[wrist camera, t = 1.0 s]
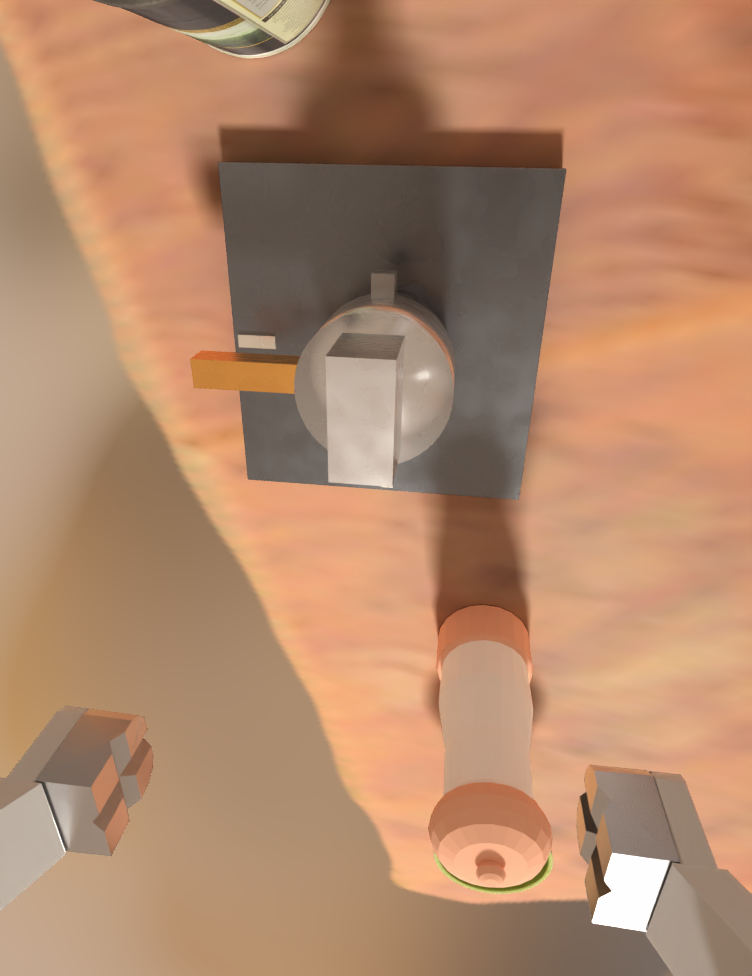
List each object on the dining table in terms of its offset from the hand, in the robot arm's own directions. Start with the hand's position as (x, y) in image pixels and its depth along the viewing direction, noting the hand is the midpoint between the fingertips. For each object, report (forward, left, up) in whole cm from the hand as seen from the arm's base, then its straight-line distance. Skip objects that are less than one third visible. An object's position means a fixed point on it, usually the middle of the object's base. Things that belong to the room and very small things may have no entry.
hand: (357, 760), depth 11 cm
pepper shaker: (+25, +5, -32) cm, 41 cm away
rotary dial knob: (+1, -6, -26) cm, 27 cm away
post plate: (+1, -3, -32) cm, 32 cm away
